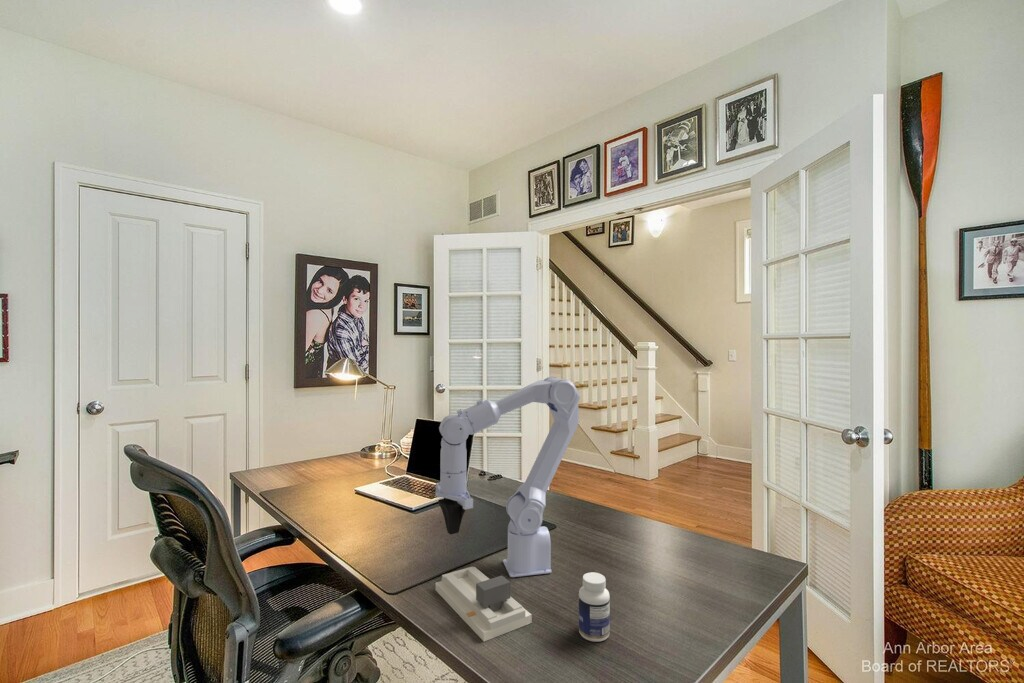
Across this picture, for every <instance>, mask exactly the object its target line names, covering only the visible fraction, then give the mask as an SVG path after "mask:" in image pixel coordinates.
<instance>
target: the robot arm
mask: <svg viewBox="0 0 1024 683" xmlns="http://www.w3.org/2000/svg"><path fill="white" fill-rule="evenodd" d="M580 398H581V395H580V393H579V391H578V389H577V387H576V384H574V383H573V382H572V381H571V380H569V379H566V378H565V379H563V378H558V377H555V376H549V377H546V378H544V379H540V380H537V381H534V382H532V383H530V384H528V385H526V386H524V387H522V388H520V389H518V390H516V391H515V392H512V393H510V394H508V395H506V396H504V397H502V398H500V399H499V400H496V401H492V400H489V399H484V400H483V399H478V400H476V404H475V405H472V406H469V407H468V408H466V409H464V410H462V409H458V410H456V413H457V414H448V415H447V416H444V417H443V419H442V420H441V422H440V424H439V427H438V430H439V433H440V435H441V436H442V437H441V441H440V446H441V448H440V458H439V459H440V462H439V463H440V464H439V465H440V467H439V468H440V469H439V470H440V472H439V473H440V478H439V479H440V480H439V482H436V483H435V493H434V495H435V497H437V498H441V499H438V501H437V503H438V505H439V508H440V509H441V512H442V515H443V518H444V523H445V528H446V532H447V533H448V534H449V535H455V534H458V533H459V531H460V529H461V524H462V521H463V516H464V515H465V512H466V511H467V510H470V509H473V508H474V498H472V497H471V495H470V493H469V490H468V489H467V464H468V463H467V462H468V461H467V454H468V453H467V452H468V450H467V439H468V438H469V435H471V436H473V435H474V434H477V433H479V432H481V431H483V430H485V429H488V428H490V427H492V426H495V425H496V424H498V423H499V420H500V418H501V416H503V415H505V414H507V413H510V412H512V411H514V410H516V409H519V408H522V407H524V406H527V405H528V404H529V405H530V404H532V403H538V404H539V403H540V404H545V405H547V407H548V408H549V410H550V412H551V415H552V417H553V423H552V425H551V427H550V430H549V431H548V433H547V436H546V438H545V440H544V441H543V443H542V446H541V449H540V450H539V452H538V454H537V457H536V458H535V461H534V463H533V464H532V467H531V469H530V472H529V473H528V475H527V477H526V479H525V481H524V482H523V483H522V484H520V486H518V488H517V490H516V492H515V493H514V494H512V495H511V496H509V498H508V500H507V502H506V507H505V508H506V510H505V511H506V513H507V516H509V517H510V520H509V523H508V525H507V558H504V559H503V560H502V563H503V565H504V567H505V569H506V571H507V573H508V576H509V578H516V577H518V578H519V577H528V576H535V575H543V574H551V573H552V569H551V568H552V567H551V565H552V564H551V558H552V557H551V555H552V553H551V552H552V550H551V549H552V547H551V545H552V543H551V536H550V531H549V529H548V527H547V526H542V524H543V513H544V511H545V508H546V493H547V491H548V489H549V488H550V485H551V483H552V481H553V478H554V477H555V475H556V473H557V470H558V468H559V467H560V464H561V461H562V459H563V458H564V455H565V453H566V451H567V449H568V447H569V445H570V443H571V441H572V439H573V436H574V434H575V432H576V430H577V428H578V426H579V423H580V422H579V421H580V420H579V418H580V416H579V415H580V411H579V402H580Z"/></svg>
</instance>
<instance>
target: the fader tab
mask: <svg viewBox="0 0 1024 683" xmlns="http://www.w3.org/2000/svg"><path fill="white" fill-rule="evenodd" d="M510 596H511V581H509V580H508V579H507V578H506V577H505V576H504V575H499V576H495V577H493V578H489V580H486V581H482V582H479V583H476V600H477V601H478V602H479V603H480V604H481V605H482V606H483V607H489V608H490V609H491V610H492V611H495V610H498V609H501V608H502V601H504V600H507V599H510Z"/></svg>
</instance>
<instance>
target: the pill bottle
mask: <svg viewBox="0 0 1024 683" xmlns="http://www.w3.org/2000/svg"><path fill="white" fill-rule="evenodd" d="M606 581H607V579H606V577H605V575H603V574H601V573H599V572H595V571H594V572H592V571H591V572H587V573H584V574H583V576H582V586H581V587H580V588H579V589H578V590H579V591H578V632H579V634H580V636H581V637H582V638H583V639H585V640H587V641H590V642H595V643H596V642H598V643H599V642H602V641H605V640H607V639H608V638H609V637H610V630H611V627H610V626H611V625H610V624H611V623H610V622H611V621H610V614H611V613H610V611H611V609H610V605H611V604H610V603H611V600H610V596H611V595H610V592H609V590H608V589H607V588H606V586H607V583H606Z"/></svg>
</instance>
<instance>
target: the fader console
mask: <svg viewBox="0 0 1024 683" xmlns="http://www.w3.org/2000/svg"><path fill="white" fill-rule="evenodd" d="M489 579H490V578H489V577H488V576H486V574H484V573H483V572H482V571H480V570H479V569H478V568H477V567H476V566H470V567H465V568H462V569H459V570H455V571H451V572H449V573H444V574H441V580H440V581H438V582H437V581H436V582H435V591H436V592H437V594H438V595H440V597H441V598H442V599H443V600H444V601H445V602H446V603H447V604H448V605H449V606H450V608H452V609H453V611H455V613H456V614H458V615H459V617H460V618H461V619H462V620H463V621H464V622H465V623H466V624H467V626H469V627H470V629H471V630H473V632H474V633H475V634H476V635H477V636H478V637H479V638H480V640H482V642H487V641H490V640H492V639H495V638H496V637H497V638H498V637H499V636H502V635H504V634H507V633H511V631H515V630H517V629H519V628H522V627H525V626H527V625H529V624H532V623H533V621H532V620H533V618H532V617H533V616H532V615H533V614H532V613H530V612H529V611H528V610H527V609H525V608H524V607H523V605H522V604H520V603H519V601H517V600H515V599H514V598H513V597H512V596H511V595H510V599H507V600H504V601H502V608H501V609H498V610H495V611H492V610H491V609H490V608H489V607H483V606H482V605H481V604H480V603H479V602H478V601H477V600H476V583H479V582H482V581H486V580H489Z"/></svg>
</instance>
